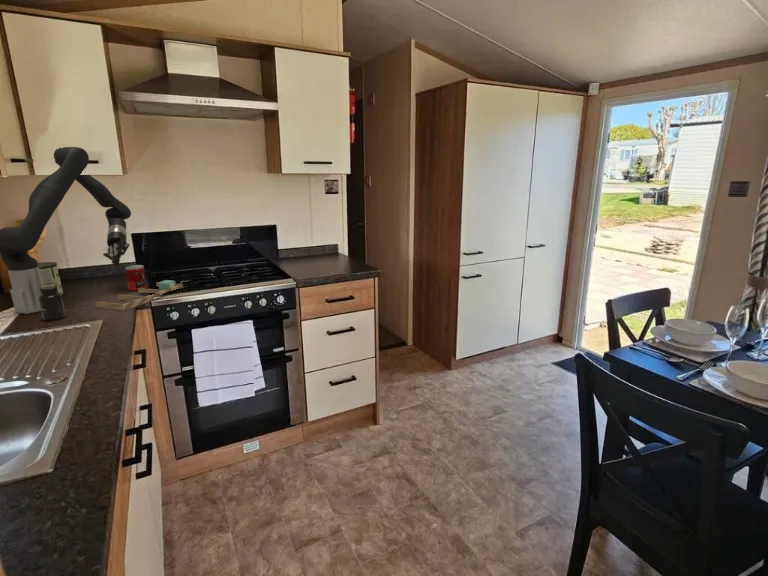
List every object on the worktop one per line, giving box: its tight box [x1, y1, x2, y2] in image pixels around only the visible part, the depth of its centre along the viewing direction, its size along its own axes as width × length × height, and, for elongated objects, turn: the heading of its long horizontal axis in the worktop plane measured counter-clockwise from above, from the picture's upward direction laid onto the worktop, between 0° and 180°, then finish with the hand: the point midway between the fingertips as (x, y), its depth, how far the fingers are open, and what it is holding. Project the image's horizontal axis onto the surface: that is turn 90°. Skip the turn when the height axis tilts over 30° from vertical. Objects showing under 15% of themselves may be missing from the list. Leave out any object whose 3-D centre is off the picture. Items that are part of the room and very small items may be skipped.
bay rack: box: [94, 281, 184, 312], centre depth 183 cm, size 32×15×2 cm, turn 164°
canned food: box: [124, 264, 148, 292], centre depth 195 cm, size 8×8×11 cm
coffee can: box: [37, 261, 64, 295], centre depth 187 cm, size 10×10×14 cm
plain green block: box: [158, 279, 177, 290], centre depth 191 cm, size 5×5×5 cm
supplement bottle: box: [39, 286, 66, 322], centre depth 157 cm, size 7×7×12 cm
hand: (115, 263), depth 184 cm, fingers closed
